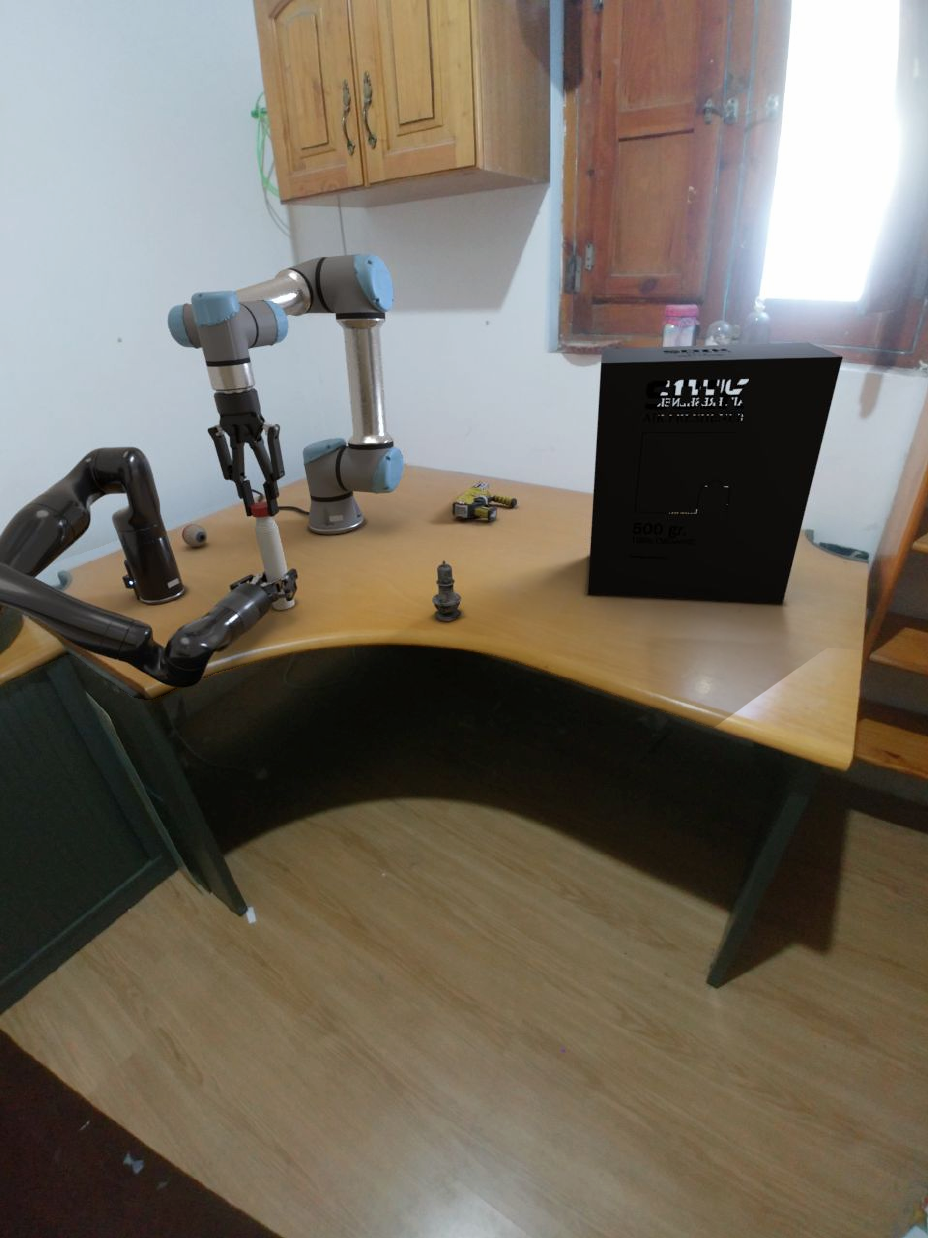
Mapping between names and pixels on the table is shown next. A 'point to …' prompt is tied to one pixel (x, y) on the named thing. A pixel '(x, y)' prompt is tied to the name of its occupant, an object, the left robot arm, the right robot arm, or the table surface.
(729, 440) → the cardboard box
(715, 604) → the table surface
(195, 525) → the eyeball
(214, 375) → the right robot arm
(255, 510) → the cap
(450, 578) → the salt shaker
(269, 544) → the bottle
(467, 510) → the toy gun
